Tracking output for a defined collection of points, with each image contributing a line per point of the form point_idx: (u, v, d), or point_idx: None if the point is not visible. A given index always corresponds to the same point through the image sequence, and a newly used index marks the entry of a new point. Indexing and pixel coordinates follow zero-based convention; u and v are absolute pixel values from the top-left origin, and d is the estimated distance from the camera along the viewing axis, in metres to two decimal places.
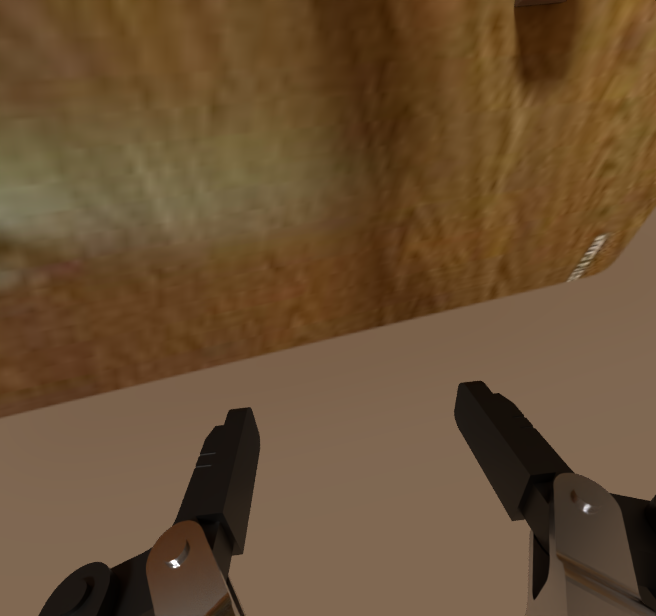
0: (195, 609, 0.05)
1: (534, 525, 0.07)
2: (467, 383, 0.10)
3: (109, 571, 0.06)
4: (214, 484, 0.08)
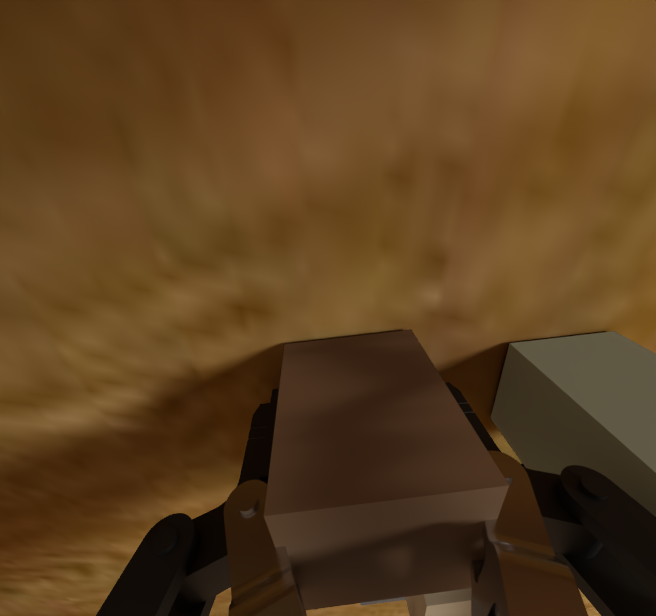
0: (276, 549, 0.06)
1: None
2: None
3: (193, 526, 0.07)
4: (271, 451, 0.08)
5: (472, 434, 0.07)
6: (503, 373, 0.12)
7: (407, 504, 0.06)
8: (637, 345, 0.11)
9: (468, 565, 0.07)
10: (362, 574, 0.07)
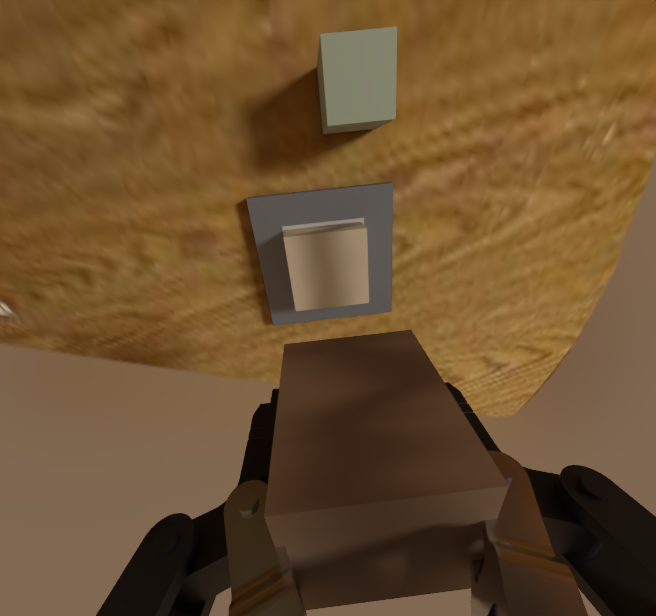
0: (276, 549, 0.06)
1: None
2: None
3: (193, 526, 0.07)
4: (271, 451, 0.08)
5: (472, 434, 0.07)
6: (319, 91, 0.22)
7: (407, 504, 0.06)
8: None
9: (468, 565, 0.07)
10: (362, 574, 0.07)
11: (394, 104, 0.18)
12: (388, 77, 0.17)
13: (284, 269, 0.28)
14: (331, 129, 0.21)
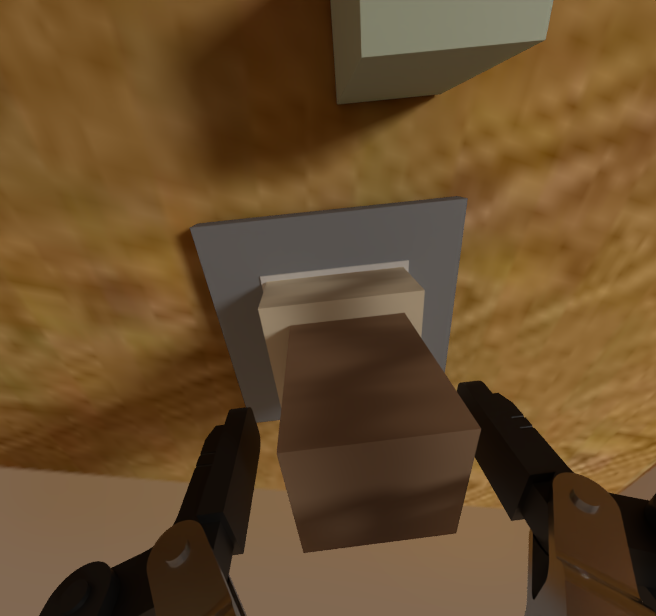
0: (195, 608, 0.05)
1: (533, 524, 0.07)
2: (467, 383, 0.10)
3: (110, 570, 0.06)
4: (214, 484, 0.08)
5: (453, 392, 0.08)
6: (331, 9, 0.11)
7: (396, 445, 0.07)
8: None
9: (451, 509, 0.08)
10: (359, 515, 0.08)
11: None
12: None
13: None
14: (361, 83, 0.09)
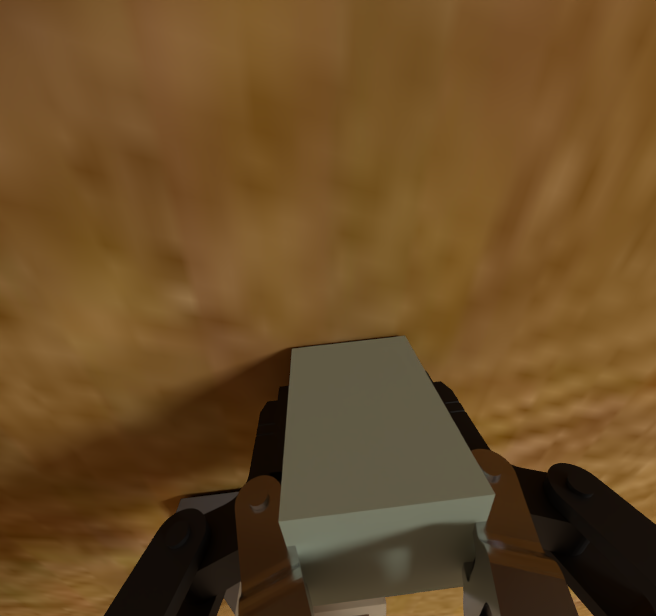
0: None
1: None
2: None
3: (205, 522, 0.07)
4: (280, 447, 0.08)
5: None
6: None
7: None
8: (410, 351, 0.10)
9: None
10: None
11: None
12: (458, 551, 0.07)
13: None
14: None
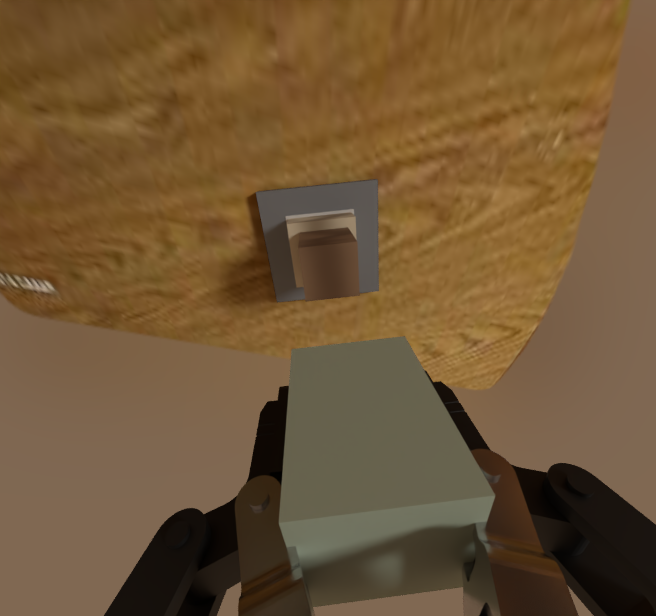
0: None
1: None
2: None
3: (205, 522, 0.07)
4: (280, 447, 0.08)
5: (353, 238, 0.25)
6: None
7: (332, 246, 0.24)
8: (410, 352, 0.10)
9: (355, 280, 0.25)
10: (324, 280, 0.25)
11: None
12: (458, 551, 0.07)
13: (287, 252, 0.33)
14: None
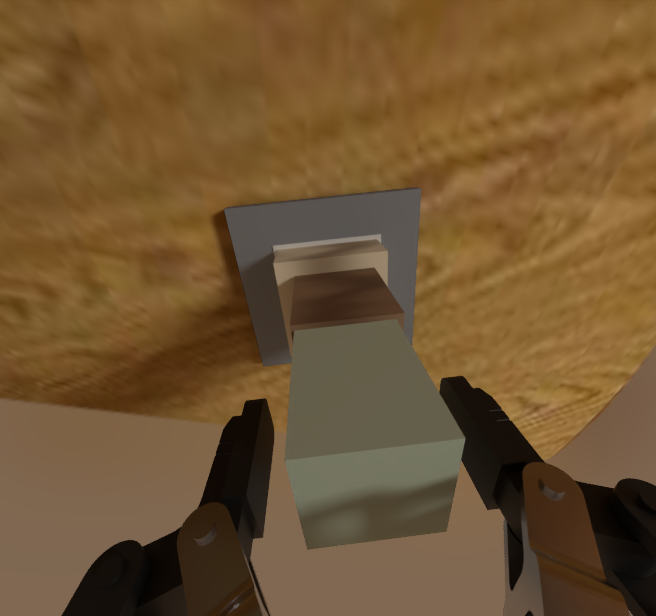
0: (227, 582, 0.06)
1: (506, 512, 0.08)
2: (448, 378, 0.10)
3: (143, 550, 0.06)
4: (236, 469, 0.08)
5: (394, 300, 0.13)
6: None
7: (357, 322, 0.12)
8: (400, 331, 0.11)
9: None
10: None
11: (446, 519, 0.09)
12: (438, 494, 0.08)
13: (277, 299, 0.21)
14: None
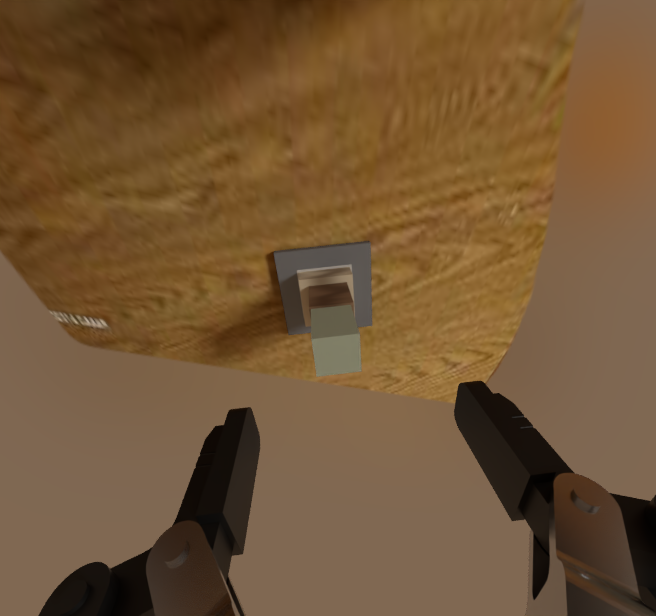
0: (195, 609, 0.05)
1: (534, 525, 0.07)
2: (467, 383, 0.10)
3: (109, 571, 0.06)
4: (214, 484, 0.08)
5: (351, 297, 0.32)
6: None
7: None
8: (350, 309, 0.30)
9: None
10: None
11: (360, 365, 0.28)
12: (355, 354, 0.27)
13: (297, 297, 0.40)
14: None
